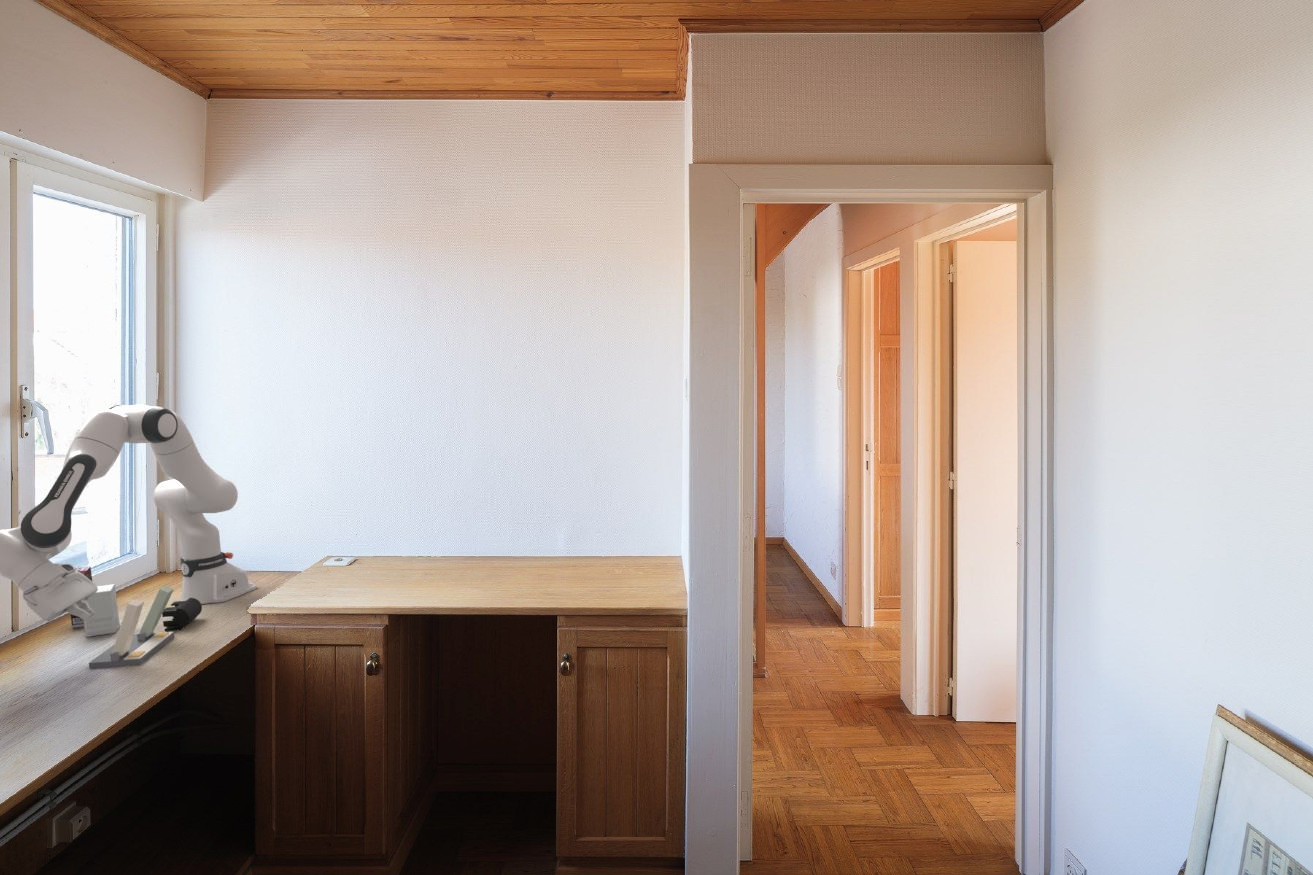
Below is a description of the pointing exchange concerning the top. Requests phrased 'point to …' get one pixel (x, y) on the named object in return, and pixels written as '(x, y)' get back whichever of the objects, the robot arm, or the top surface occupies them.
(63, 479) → the robot arm
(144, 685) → the top surface
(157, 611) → the bar
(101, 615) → the supplement box
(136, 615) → the bar
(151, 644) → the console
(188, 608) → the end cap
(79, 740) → the top surface
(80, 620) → the supplement box
